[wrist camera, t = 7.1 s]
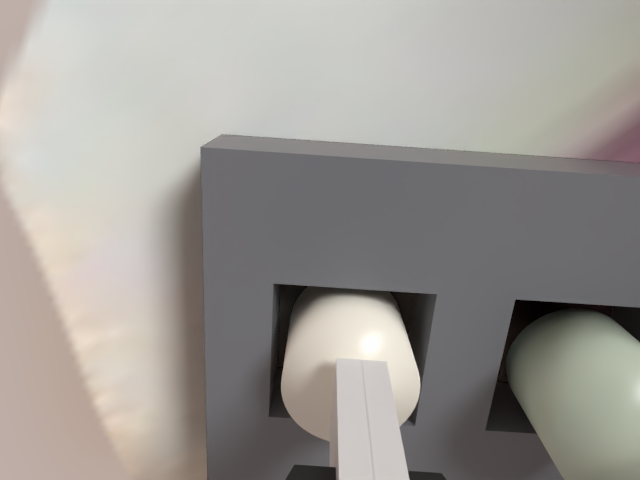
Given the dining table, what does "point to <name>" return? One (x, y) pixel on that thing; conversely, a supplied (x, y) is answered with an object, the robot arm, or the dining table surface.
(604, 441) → the sage button
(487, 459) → the panel
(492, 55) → the dining table surface
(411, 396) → the cream button
